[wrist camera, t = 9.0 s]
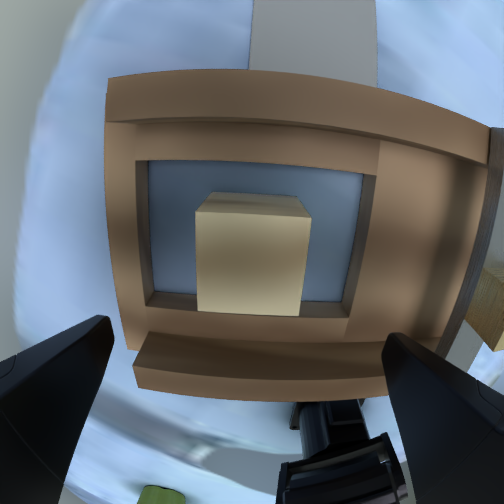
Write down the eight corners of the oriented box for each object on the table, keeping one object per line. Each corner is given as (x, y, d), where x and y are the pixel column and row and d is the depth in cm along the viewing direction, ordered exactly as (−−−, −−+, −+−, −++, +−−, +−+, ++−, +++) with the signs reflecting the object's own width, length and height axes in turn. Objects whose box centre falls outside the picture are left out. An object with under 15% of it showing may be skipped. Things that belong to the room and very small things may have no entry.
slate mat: (373, 97, 14) (376, 96, 14) (248, 80, 14) (248, 78, 14) (372, -2, 12) (374, -4, 11) (256, -21, 12) (255, -23, 11)
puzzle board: (429, 341, 21) (457, 382, 16) (136, 333, 21) (110, 381, 16) (479, 141, 15) (532, 149, 10) (121, 96, 15) (72, 85, 9)
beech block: (288, 272, 19) (298, 316, 14) (211, 268, 19) (197, 310, 14) (296, 196, 17) (311, 218, 12) (211, 191, 17) (195, 211, 12)
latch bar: (443, 387, 16) (466, 428, 12) (412, 393, 16) (433, 439, 12) (521, 142, 10) (575, 154, 6) (491, 127, 10) (551, 134, 6)
